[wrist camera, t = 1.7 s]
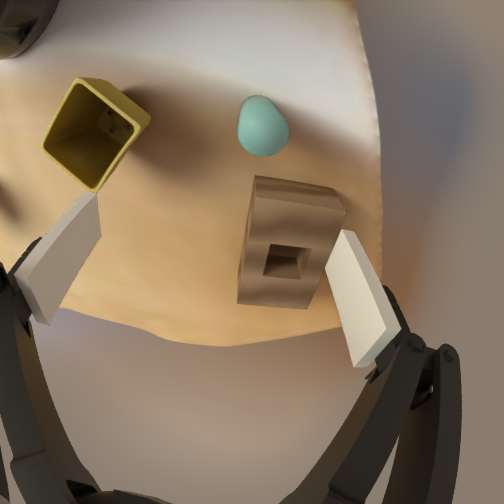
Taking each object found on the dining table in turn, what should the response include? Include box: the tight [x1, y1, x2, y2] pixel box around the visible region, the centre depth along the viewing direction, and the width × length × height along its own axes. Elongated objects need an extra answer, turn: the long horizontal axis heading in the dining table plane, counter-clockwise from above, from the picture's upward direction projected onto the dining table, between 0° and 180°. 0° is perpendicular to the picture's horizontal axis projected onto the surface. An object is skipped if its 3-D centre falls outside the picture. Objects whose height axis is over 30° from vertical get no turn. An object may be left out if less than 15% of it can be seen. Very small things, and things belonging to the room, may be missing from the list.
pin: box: [238, 95, 289, 156], centre depth 23 cm, size 4×4×12 cm
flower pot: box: [40, 77, 151, 193], centre depth 23 cm, size 9×9×9 cm
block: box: [237, 175, 347, 309], centre depth 35 cm, size 16×10×6 cm, turn 171°
